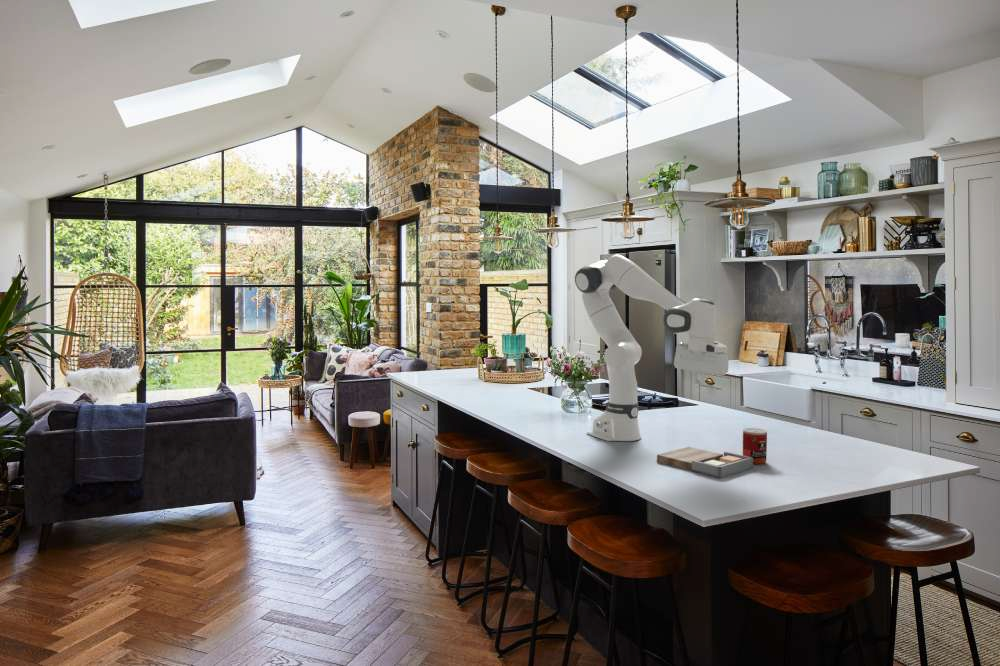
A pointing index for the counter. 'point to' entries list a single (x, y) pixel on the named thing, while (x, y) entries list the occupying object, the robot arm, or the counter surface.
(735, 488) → the counter surface
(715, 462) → the tile cream
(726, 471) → the tray
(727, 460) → the tile terracotta
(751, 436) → the canned food
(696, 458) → the board
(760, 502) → the counter surface
